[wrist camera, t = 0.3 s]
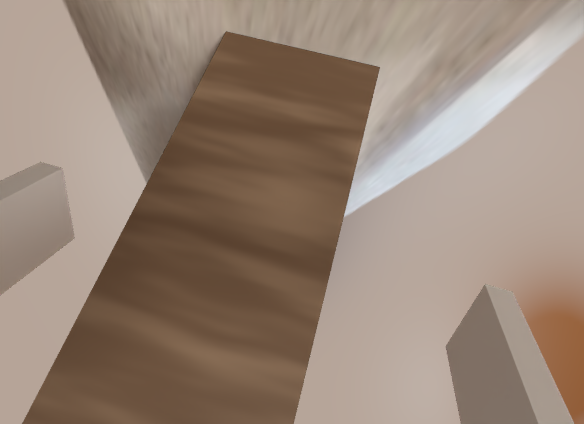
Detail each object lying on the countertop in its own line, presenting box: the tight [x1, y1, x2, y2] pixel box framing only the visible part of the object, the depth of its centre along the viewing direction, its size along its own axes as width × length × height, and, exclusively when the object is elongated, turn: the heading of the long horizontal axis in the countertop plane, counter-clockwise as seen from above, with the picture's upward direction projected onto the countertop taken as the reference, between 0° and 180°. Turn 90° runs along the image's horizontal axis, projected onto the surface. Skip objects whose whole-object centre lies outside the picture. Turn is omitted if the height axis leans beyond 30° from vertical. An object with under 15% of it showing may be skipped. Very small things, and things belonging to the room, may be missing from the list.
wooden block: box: [22, 32, 380, 424], centre depth 24 cm, size 14×10×28 cm
